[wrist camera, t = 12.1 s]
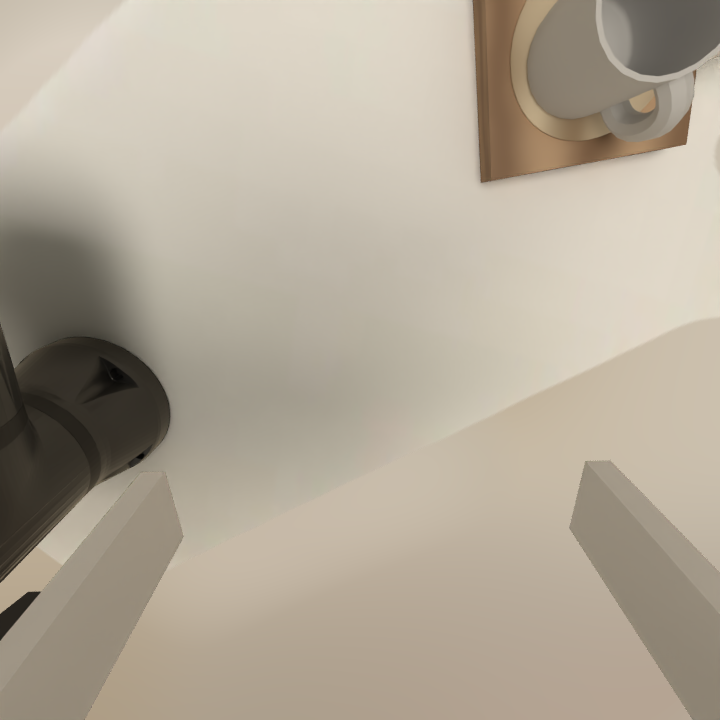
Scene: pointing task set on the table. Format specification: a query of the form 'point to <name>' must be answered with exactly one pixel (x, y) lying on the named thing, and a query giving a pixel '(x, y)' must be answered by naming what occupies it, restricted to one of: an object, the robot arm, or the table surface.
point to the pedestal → (522, 112)
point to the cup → (622, 60)
